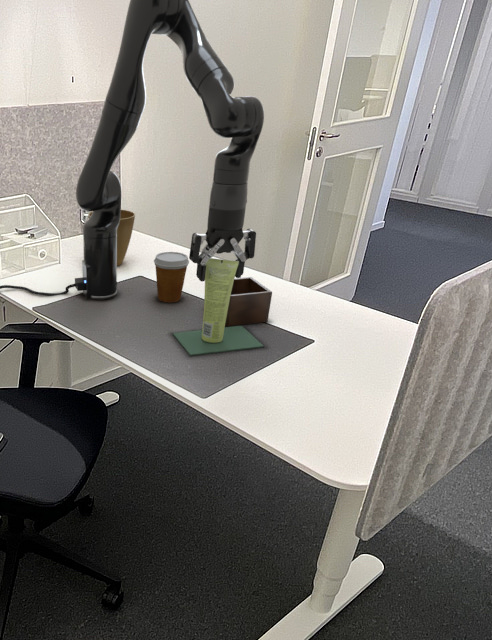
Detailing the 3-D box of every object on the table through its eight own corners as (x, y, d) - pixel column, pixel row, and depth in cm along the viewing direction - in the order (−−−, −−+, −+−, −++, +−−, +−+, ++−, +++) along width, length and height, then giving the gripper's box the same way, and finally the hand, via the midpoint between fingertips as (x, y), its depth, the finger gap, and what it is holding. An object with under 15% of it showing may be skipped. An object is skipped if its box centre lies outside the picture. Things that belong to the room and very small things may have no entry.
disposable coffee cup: (185, 305, 155) (188, 262, 149) (150, 303, 157) (152, 261, 151) (187, 293, 163) (190, 252, 157) (153, 291, 165) (155, 250, 159)
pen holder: (225, 326, 143) (228, 296, 139) (207, 309, 153) (210, 280, 149) (267, 321, 145) (272, 292, 141) (247, 305, 155) (251, 276, 150)
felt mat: (190, 356, 130) (190, 354, 129) (172, 334, 140) (172, 333, 139) (263, 347, 133) (263, 345, 132) (241, 326, 143) (241, 325, 142)
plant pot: (135, 270, 182) (136, 219, 173) (88, 270, 182) (87, 219, 174) (132, 256, 194) (133, 207, 186) (89, 256, 195) (88, 208, 186)
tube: (217, 333, 139) (226, 254, 129) (229, 341, 135) (239, 260, 125) (197, 337, 137) (204, 257, 127) (208, 345, 133) (216, 263, 123)
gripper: (251, 198, 124) (241, 270, 132) (189, 202, 121) (183, 275, 130) (267, 206, 117) (256, 281, 126) (202, 210, 115) (195, 287, 124)
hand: (219, 278), depth 128 cm, fingers open, 8 cm apart
